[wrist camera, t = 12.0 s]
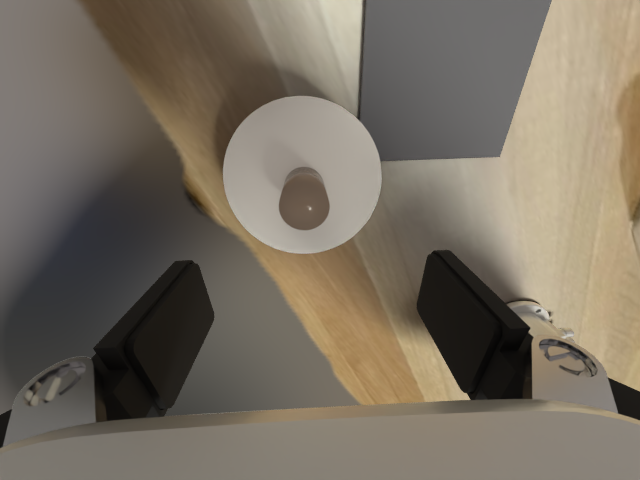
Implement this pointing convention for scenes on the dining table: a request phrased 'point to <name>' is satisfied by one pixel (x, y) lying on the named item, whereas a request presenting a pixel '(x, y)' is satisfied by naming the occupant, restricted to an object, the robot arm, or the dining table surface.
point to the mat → (445, 74)
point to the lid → (302, 174)
